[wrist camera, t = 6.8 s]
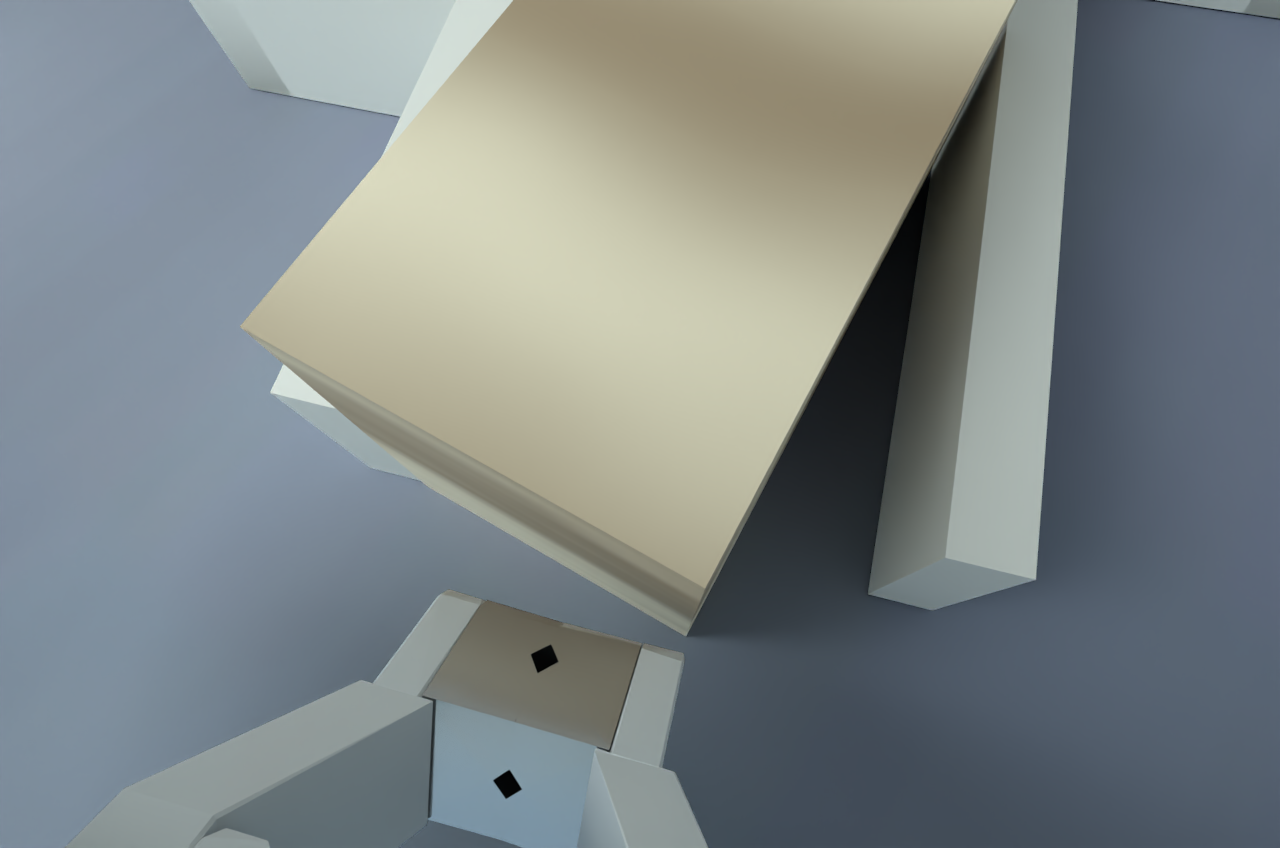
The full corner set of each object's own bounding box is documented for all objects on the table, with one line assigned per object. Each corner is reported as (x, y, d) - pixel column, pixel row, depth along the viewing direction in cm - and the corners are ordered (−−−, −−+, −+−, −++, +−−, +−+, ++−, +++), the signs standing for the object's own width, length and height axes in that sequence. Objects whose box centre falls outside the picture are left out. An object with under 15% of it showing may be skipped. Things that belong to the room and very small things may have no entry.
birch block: (685, 637, 14) (705, 588, 7) (429, 488, 15) (239, 327, 8) (925, 179, 17) (1089, -141, 10) (702, 88, 18) (723, -250, 12)
